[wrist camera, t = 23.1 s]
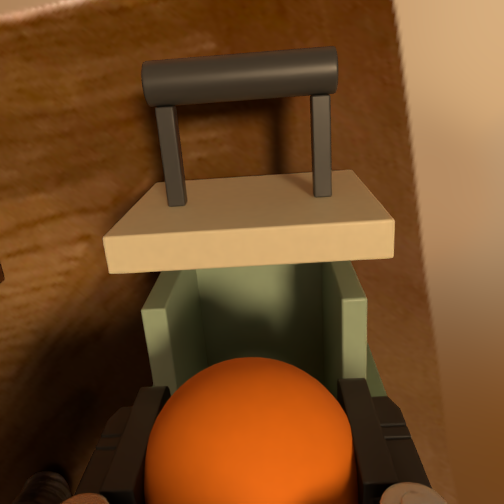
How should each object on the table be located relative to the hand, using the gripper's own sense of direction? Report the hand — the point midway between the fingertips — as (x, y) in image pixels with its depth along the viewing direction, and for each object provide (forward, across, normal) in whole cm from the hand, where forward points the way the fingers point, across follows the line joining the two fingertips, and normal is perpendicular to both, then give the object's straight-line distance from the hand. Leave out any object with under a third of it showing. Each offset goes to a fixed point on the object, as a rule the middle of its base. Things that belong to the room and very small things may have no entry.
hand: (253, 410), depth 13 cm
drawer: (+10, 0, -1) cm, 10 cm away
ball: (-2, 0, 0) cm, 2 cm away
